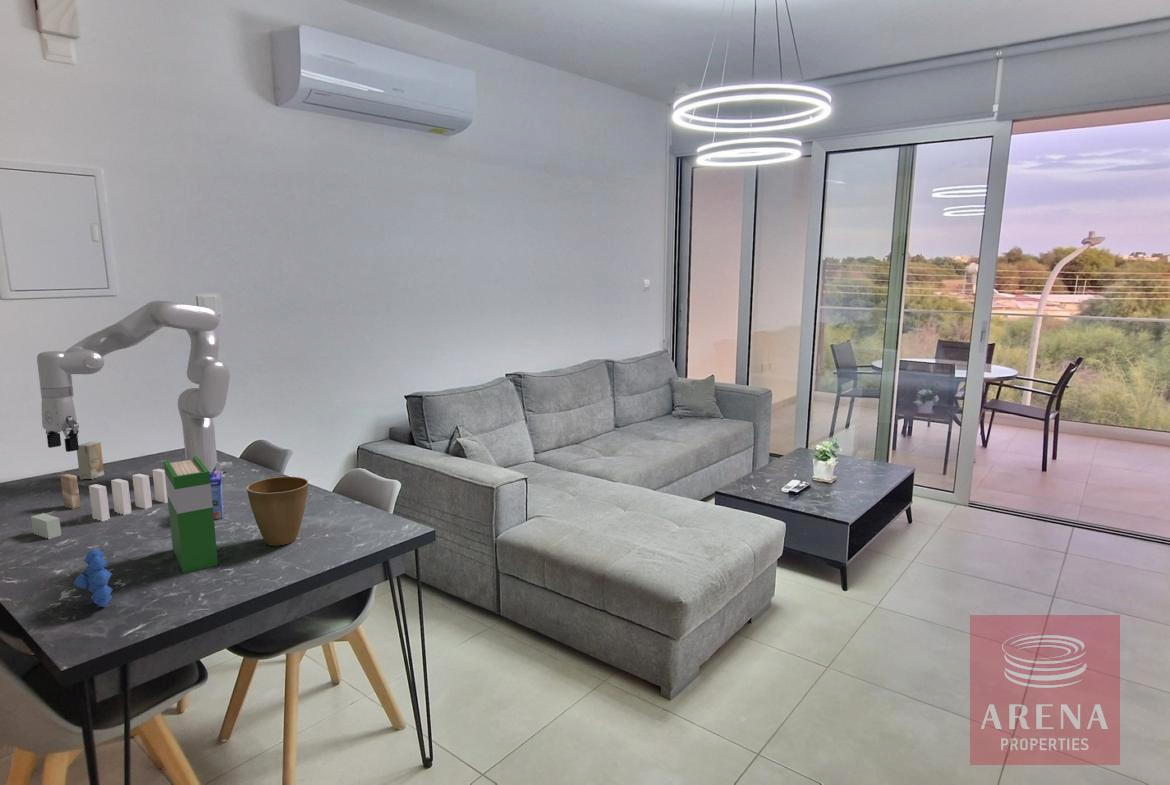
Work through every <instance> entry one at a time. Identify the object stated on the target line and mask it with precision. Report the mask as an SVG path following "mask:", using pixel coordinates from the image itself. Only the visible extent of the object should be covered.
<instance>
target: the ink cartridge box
mask: <svg viewBox="0 0 1170 785" xmlns="http://www.w3.org/2000/svg"><path fill="white" fill-rule="evenodd" d="M215 470H216V466H215V468H214V469H213V471H212V472H210V483H211V493H212V504H213V515H214V520H221V519H222V520H223V518H224V517H223V516H224V498H223V479H222V475H221V471H216V472H215Z"/></svg>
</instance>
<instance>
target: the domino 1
mask: <svg viewBox="0 0 1170 785" xmlns="http://www.w3.org/2000/svg"><path fill="white" fill-rule="evenodd" d="M60 483H61V490H62V499H63V505H64V506H65V507H64V506H63V507H64V508H67V507H69V508H68V509H70V508H73V509H72V510H75V509H74V508H77V507H80V506H82V505H81V500H80V491H79V484H78V476H77V475H74V474H70V473H66V474H65V473H64V474H61V475H60ZM77 509H78V508H77Z"/></svg>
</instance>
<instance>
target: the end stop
mask: <svg viewBox="0 0 1170 785" xmlns="http://www.w3.org/2000/svg"><path fill="white" fill-rule="evenodd" d="M30 521H31V526H32V534H33V533H34V534H33V535H35V534H36V535H35V536H38V535H39V536H38V537H41V536H42V538H44V537H45V538H44V539H47V538H48V539H47V540H51V539H54V538H57V537H61V536H62V528H61V522H60V517H57V516H55V515H51V514H47V513H44V512H42V513H39V514H36V515H32V516H30Z"/></svg>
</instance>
